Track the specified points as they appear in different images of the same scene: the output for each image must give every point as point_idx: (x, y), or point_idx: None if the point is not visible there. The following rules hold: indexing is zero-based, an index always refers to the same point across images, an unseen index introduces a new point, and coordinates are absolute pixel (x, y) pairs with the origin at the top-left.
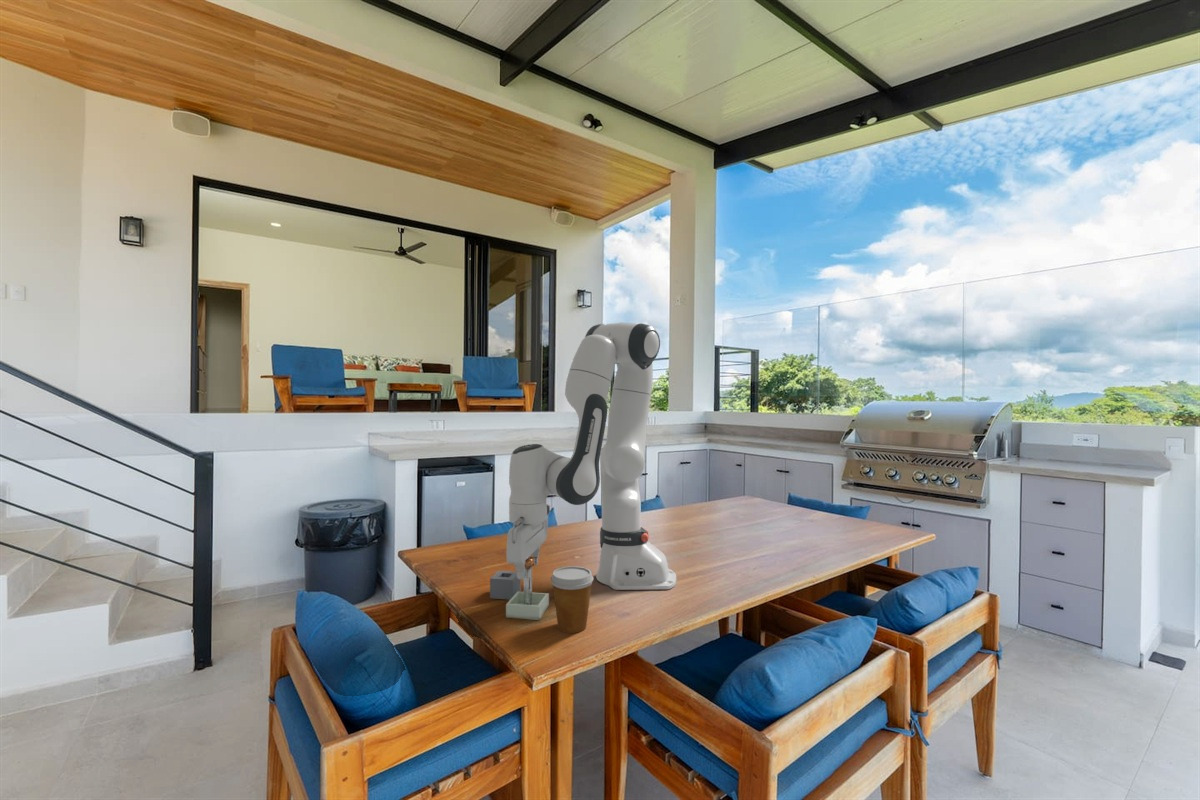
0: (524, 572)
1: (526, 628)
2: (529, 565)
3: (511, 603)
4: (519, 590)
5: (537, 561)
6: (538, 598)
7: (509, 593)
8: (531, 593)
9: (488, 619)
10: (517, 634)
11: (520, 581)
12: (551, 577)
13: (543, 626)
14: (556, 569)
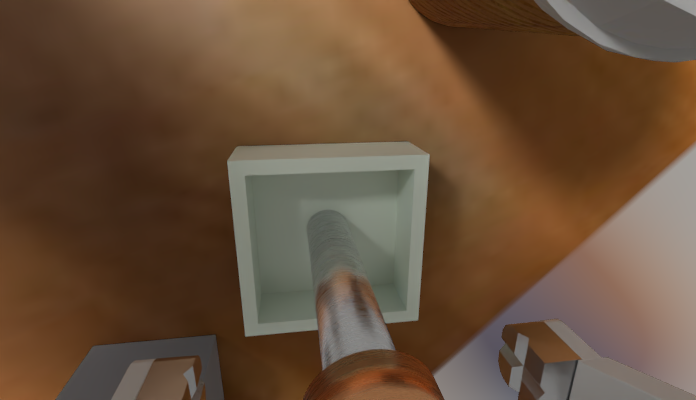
0: (589, 349)
1: (492, 169)
2: (432, 380)
3: None
4: (107, 349)
5: (157, 374)
6: (250, 210)
7: (211, 368)
8: (343, 243)
9: (425, 337)
10: (543, 185)
11: (67, 383)
12: (693, 55)
13: (469, 100)
14: (687, 4)
